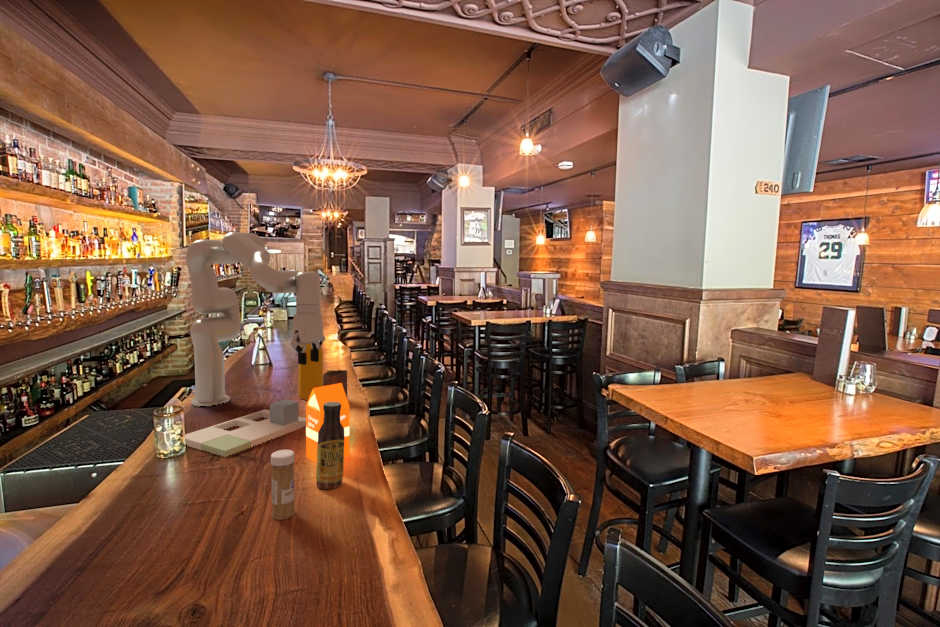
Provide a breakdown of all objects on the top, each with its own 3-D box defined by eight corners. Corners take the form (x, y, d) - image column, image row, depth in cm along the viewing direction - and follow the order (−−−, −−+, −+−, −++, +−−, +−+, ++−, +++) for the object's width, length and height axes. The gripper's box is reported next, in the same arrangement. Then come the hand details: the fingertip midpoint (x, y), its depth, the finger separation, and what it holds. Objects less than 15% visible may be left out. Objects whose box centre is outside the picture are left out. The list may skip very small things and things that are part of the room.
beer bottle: (328, 396, 184) (328, 324, 181) (308, 401, 176) (308, 326, 173) (312, 392, 189) (312, 322, 186) (293, 397, 181) (292, 324, 178)
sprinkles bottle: (293, 519, 95) (292, 456, 94) (269, 521, 94) (268, 458, 93) (296, 508, 100) (295, 448, 98) (273, 510, 99) (272, 449, 97)
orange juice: (349, 456, 127) (350, 385, 125) (320, 465, 121) (320, 391, 119) (334, 448, 133) (334, 380, 131) (305, 456, 126) (305, 385, 124)
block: (269, 422, 147) (269, 403, 146) (285, 417, 152) (284, 399, 151) (283, 425, 144) (283, 406, 143) (298, 420, 149) (298, 402, 149)
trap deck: (178, 443, 133) (178, 436, 133) (265, 414, 160) (265, 409, 159) (225, 457, 124) (225, 450, 124) (308, 424, 151) (308, 419, 151)
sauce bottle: (318, 493, 107) (318, 409, 105) (314, 481, 112) (313, 401, 110) (347, 487, 110) (347, 405, 108) (341, 476, 115) (341, 398, 113)
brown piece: (340, 439, 139) (340, 374, 137) (318, 437, 141) (317, 372, 139) (351, 431, 147) (352, 369, 145) (330, 428, 148) (330, 367, 146)
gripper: (318, 306, 163) (318, 357, 165) (279, 310, 148) (280, 366, 150) (334, 308, 160) (334, 359, 162) (296, 311, 145) (297, 368, 147)
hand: (308, 362), depth 156 cm, fingers open, 4 cm apart
